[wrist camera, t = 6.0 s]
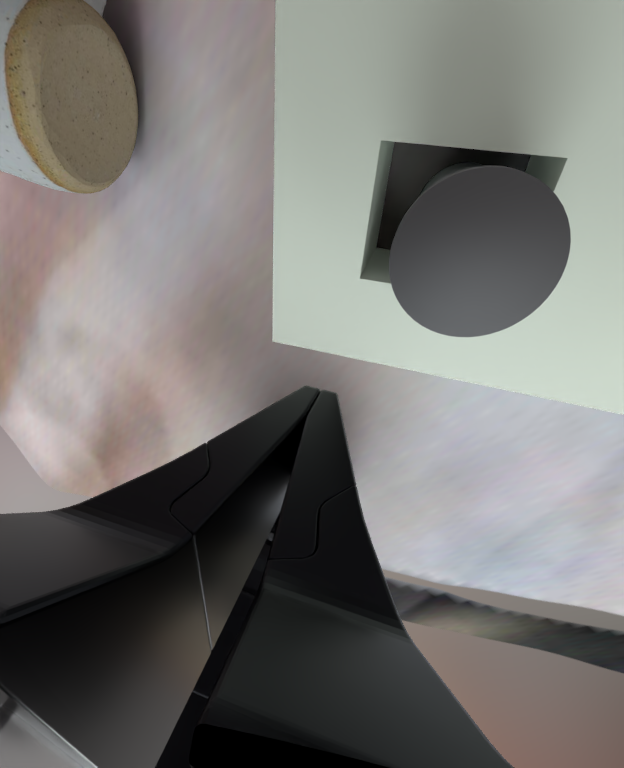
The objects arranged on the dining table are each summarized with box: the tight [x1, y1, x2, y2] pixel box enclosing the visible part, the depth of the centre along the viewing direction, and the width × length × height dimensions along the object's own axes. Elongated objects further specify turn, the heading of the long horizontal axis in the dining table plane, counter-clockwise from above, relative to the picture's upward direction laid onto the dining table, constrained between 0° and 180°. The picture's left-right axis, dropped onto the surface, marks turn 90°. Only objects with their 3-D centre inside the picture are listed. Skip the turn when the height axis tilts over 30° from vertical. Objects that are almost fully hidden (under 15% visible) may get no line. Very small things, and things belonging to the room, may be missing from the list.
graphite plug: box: [389, 162, 571, 337], centre depth 12 cm, size 4×4×8 cm
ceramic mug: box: [0, 0, 138, 194], centre depth 14 cm, size 11×8×8 cm
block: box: [272, 0, 624, 415], centre depth 14 cm, size 12×24×5 cm, turn 85°
